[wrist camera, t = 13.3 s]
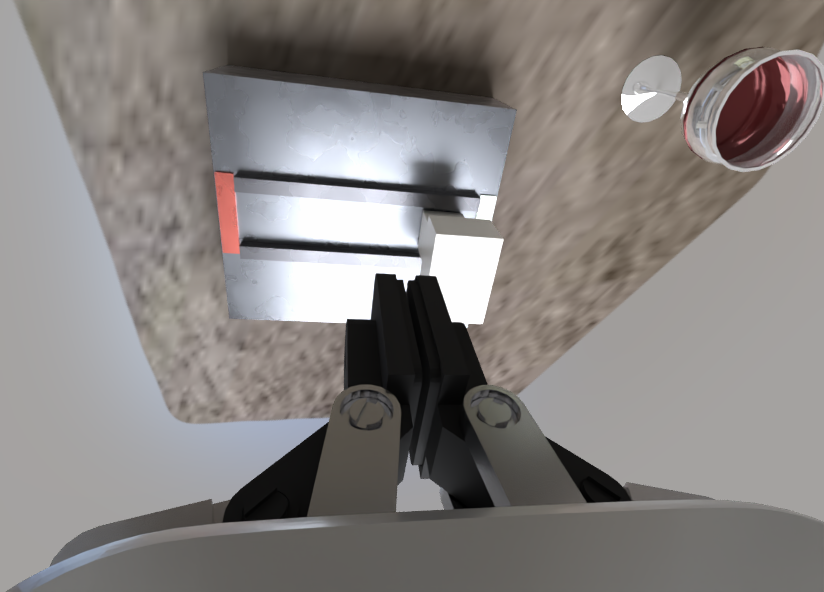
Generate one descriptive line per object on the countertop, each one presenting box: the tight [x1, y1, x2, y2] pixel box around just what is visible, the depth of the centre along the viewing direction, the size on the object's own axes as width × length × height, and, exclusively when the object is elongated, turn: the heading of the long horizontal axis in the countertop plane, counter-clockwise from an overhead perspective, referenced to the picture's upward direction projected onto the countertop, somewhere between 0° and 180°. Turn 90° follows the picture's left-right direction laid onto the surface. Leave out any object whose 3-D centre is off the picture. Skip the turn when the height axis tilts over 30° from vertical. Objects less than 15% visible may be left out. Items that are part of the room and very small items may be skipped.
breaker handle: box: [418, 210, 504, 324], centre depth 30 cm, size 6×4×8 cm, turn 173°
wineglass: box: [621, 47, 824, 172], centre depth 31 cm, size 7×7×12 cm
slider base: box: [203, 65, 517, 328], centre depth 35 cm, size 18×20×7 cm
